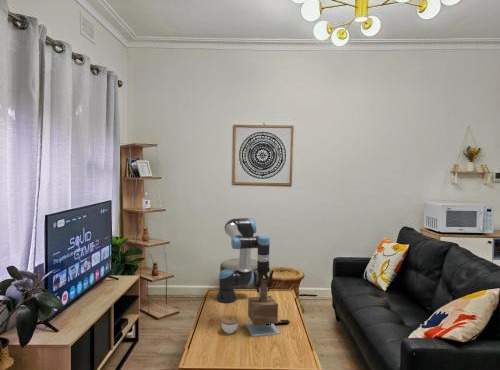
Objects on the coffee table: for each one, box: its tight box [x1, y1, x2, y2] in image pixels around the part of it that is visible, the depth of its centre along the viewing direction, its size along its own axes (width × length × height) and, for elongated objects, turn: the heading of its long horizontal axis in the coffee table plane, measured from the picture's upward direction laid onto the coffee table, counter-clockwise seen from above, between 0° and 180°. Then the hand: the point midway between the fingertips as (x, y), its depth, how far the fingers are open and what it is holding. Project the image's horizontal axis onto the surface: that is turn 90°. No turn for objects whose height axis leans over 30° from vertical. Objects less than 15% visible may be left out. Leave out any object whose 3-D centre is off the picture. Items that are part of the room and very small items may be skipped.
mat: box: [244, 322, 281, 338], centre depth 229 cm, size 18×18×1 cm
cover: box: [247, 277, 279, 326], centre depth 228 cm, size 15×15×26 cm
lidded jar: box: [220, 315, 239, 334], centre depth 225 cm, size 11×11×9 cm
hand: (262, 296), depth 228 cm, fingers closed on cover, 4 cm apart
